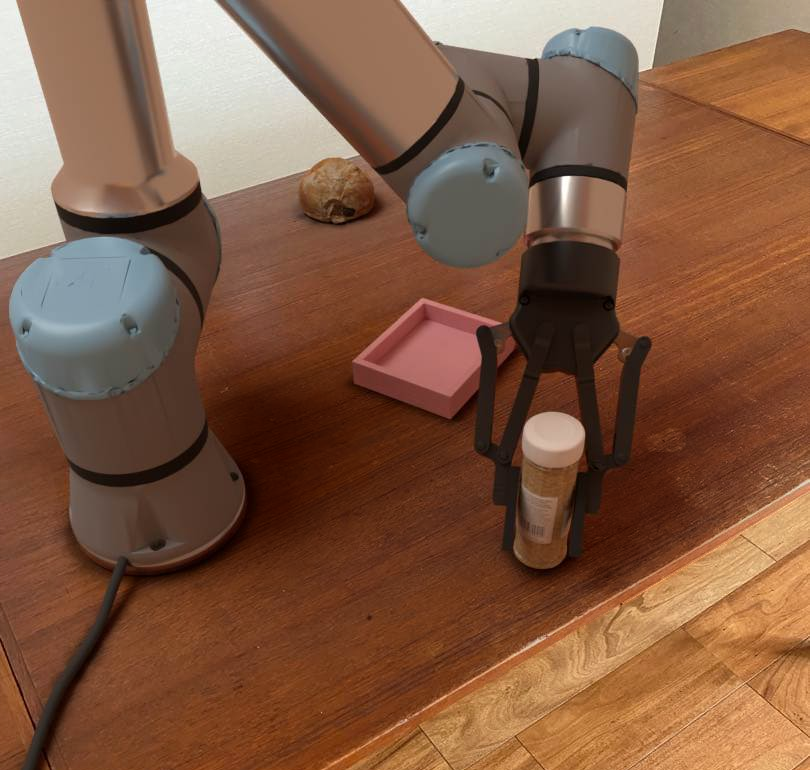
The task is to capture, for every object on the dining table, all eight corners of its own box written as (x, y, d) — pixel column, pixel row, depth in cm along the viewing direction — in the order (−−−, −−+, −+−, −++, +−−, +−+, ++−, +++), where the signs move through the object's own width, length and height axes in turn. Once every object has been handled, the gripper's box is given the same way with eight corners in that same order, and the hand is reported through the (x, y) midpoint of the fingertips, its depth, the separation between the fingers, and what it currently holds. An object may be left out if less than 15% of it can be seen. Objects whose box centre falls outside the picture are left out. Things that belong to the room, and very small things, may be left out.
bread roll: (311, 250, 115) (314, 209, 108) (285, 189, 118) (286, 145, 111) (380, 233, 118) (387, 192, 110) (353, 174, 121) (358, 130, 113)
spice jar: (577, 556, 73) (599, 433, 63) (535, 579, 71) (550, 457, 61) (542, 523, 75) (558, 401, 65) (500, 546, 74) (510, 423, 64)
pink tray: (450, 419, 85) (450, 397, 83) (353, 383, 90) (351, 361, 88) (514, 349, 93) (516, 327, 91) (422, 319, 97) (421, 297, 95)
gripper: (679, 271, 69) (648, 561, 70) (461, 258, 71) (434, 539, 73) (698, 242, 62) (663, 567, 63) (453, 230, 64) (424, 543, 65)
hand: (540, 551), depth 68 cm, fingers open, 4 cm apart
